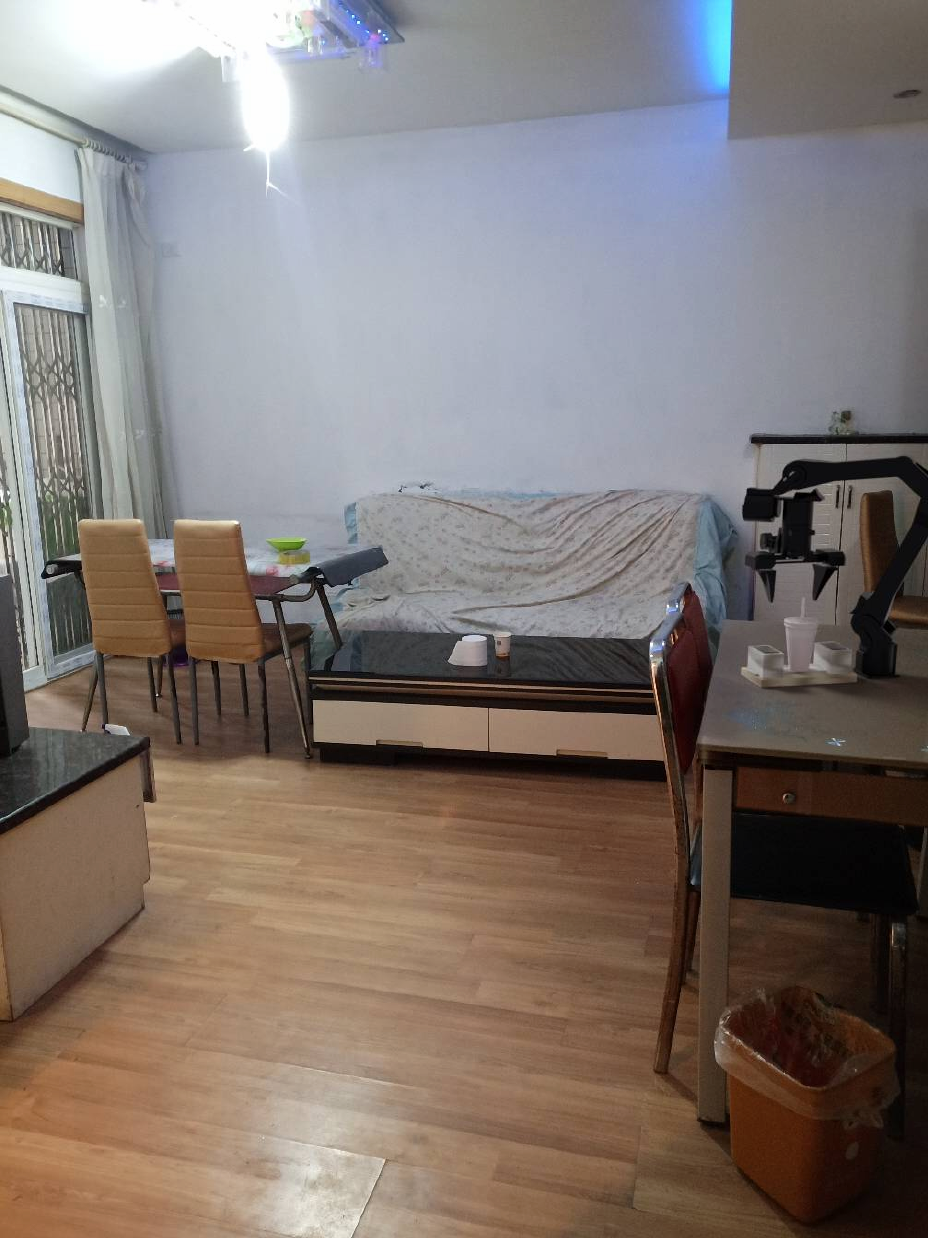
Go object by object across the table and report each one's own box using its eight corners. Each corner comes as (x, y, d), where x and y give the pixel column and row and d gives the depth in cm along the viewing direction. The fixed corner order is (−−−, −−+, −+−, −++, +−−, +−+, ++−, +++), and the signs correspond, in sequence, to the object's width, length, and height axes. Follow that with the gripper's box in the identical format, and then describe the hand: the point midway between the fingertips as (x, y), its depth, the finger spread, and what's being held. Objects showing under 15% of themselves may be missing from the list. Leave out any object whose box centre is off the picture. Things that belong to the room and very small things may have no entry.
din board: (833, 669, 193) (835, 639, 191) (856, 682, 184) (858, 650, 183) (741, 674, 191) (742, 644, 189) (760, 687, 182) (762, 655, 180)
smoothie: (819, 667, 188) (824, 596, 185) (811, 675, 183) (816, 602, 180) (786, 663, 191) (790, 593, 188) (777, 670, 186) (781, 599, 183)
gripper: (822, 517, 200) (817, 591, 203) (735, 520, 198) (732, 595, 201) (849, 523, 189) (844, 602, 193) (758, 527, 187) (754, 606, 190)
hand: (792, 601), depth 195 cm, fingers open, 9 cm apart
